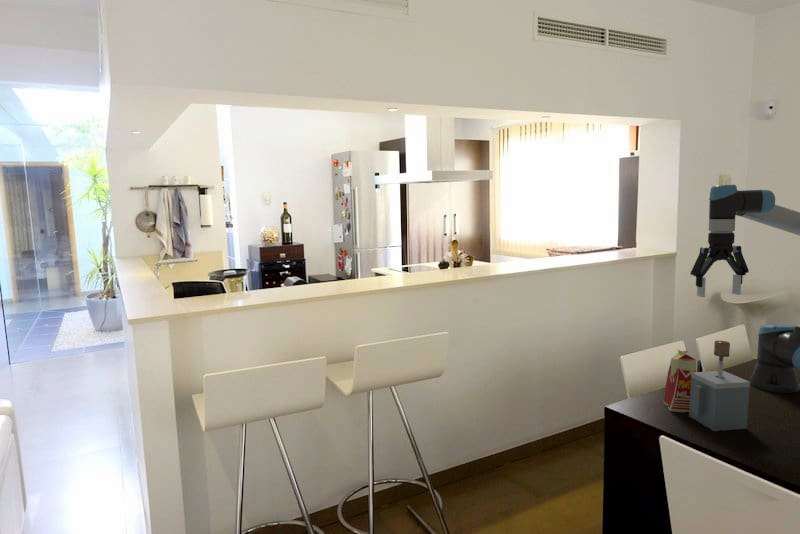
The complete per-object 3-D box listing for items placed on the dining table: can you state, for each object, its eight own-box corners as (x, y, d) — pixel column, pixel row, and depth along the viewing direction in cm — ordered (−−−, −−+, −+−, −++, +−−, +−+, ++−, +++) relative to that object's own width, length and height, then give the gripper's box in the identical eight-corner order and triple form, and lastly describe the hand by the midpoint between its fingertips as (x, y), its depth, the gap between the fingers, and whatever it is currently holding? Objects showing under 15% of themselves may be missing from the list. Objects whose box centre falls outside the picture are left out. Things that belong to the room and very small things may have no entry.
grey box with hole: (720, 414, 176) (723, 370, 174) (746, 428, 165) (750, 381, 163) (683, 417, 174) (685, 372, 172) (707, 431, 163) (710, 384, 161)
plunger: (719, 413, 174) (724, 338, 171) (739, 423, 166) (744, 345, 163) (696, 414, 173) (700, 339, 170) (714, 425, 165) (719, 346, 162)
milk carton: (700, 413, 177) (704, 353, 174) (669, 411, 178) (672, 351, 176) (691, 403, 185) (695, 345, 183) (662, 401, 187) (665, 344, 185)
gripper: (744, 230, 188) (741, 291, 190) (680, 232, 183) (678, 295, 185) (763, 231, 180) (759, 294, 183) (696, 234, 176) (693, 299, 178)
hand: (718, 295), depth 184 cm, fingers open, 13 cm apart
